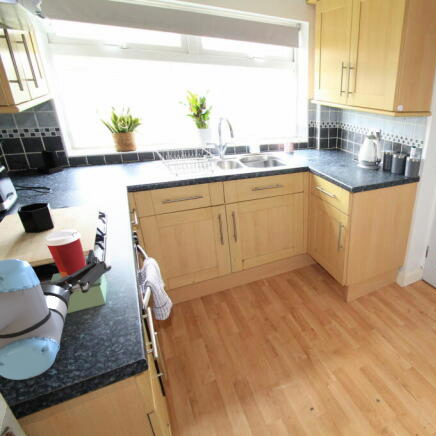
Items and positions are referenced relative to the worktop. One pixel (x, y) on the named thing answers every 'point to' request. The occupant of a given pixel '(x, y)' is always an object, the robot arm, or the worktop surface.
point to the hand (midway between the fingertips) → (60, 260)
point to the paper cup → (66, 251)
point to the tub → (86, 295)
